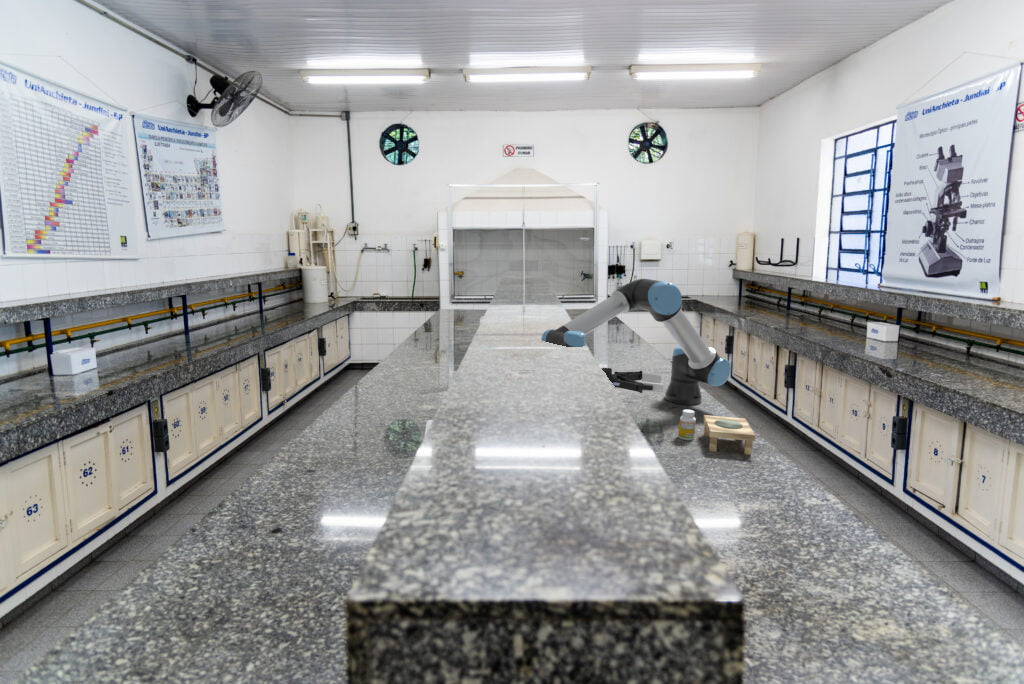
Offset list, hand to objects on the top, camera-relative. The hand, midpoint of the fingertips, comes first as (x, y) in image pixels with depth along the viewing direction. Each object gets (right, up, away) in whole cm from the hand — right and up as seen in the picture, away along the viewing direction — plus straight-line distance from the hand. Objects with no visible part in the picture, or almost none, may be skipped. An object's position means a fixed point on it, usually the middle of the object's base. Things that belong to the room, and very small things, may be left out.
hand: (661, 383), depth 213 cm
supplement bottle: (+9, -19, +2) cm, 21 cm away
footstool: (+21, -21, -3) cm, 30 cm away
